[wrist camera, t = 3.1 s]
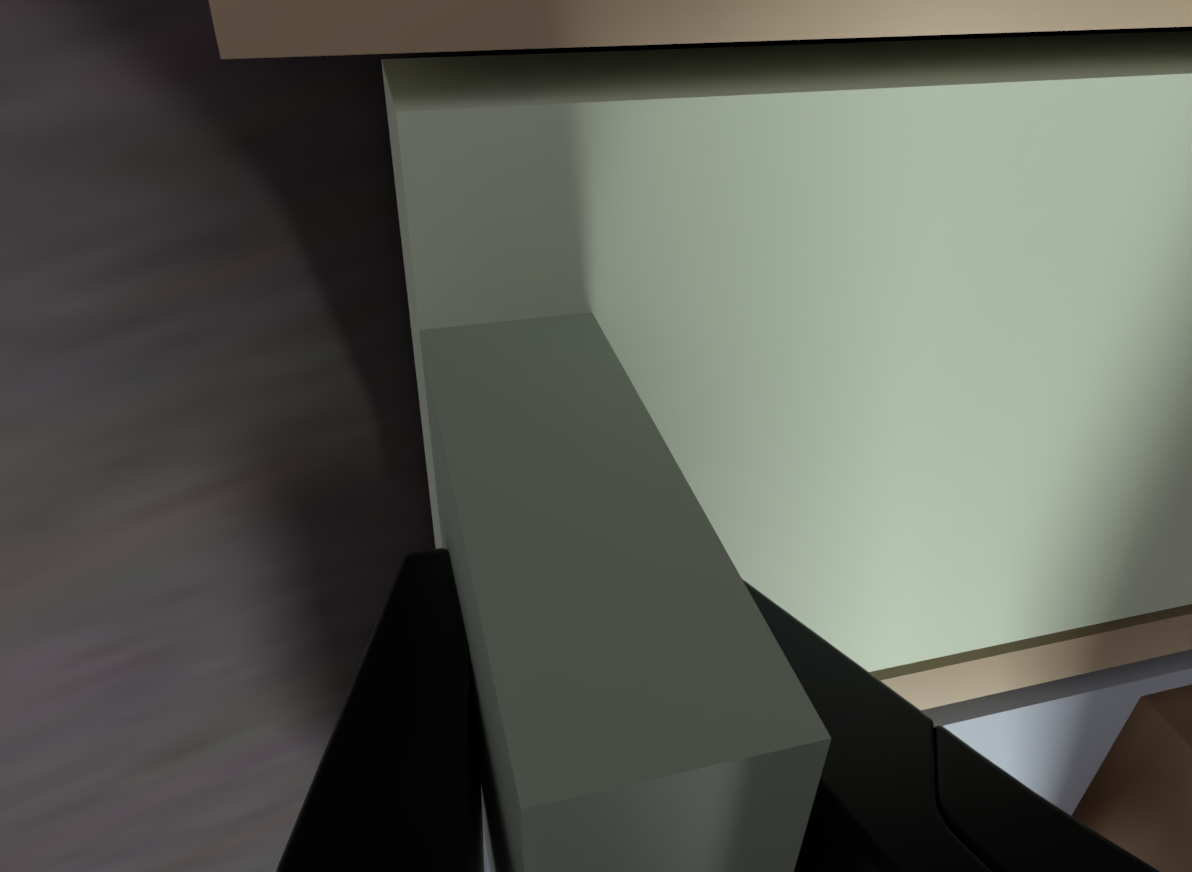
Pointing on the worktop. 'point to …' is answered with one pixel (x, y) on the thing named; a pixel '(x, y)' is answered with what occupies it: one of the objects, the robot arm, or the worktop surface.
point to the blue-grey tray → (1056, 724)
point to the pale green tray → (782, 396)
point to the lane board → (739, 14)
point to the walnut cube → (1148, 784)
